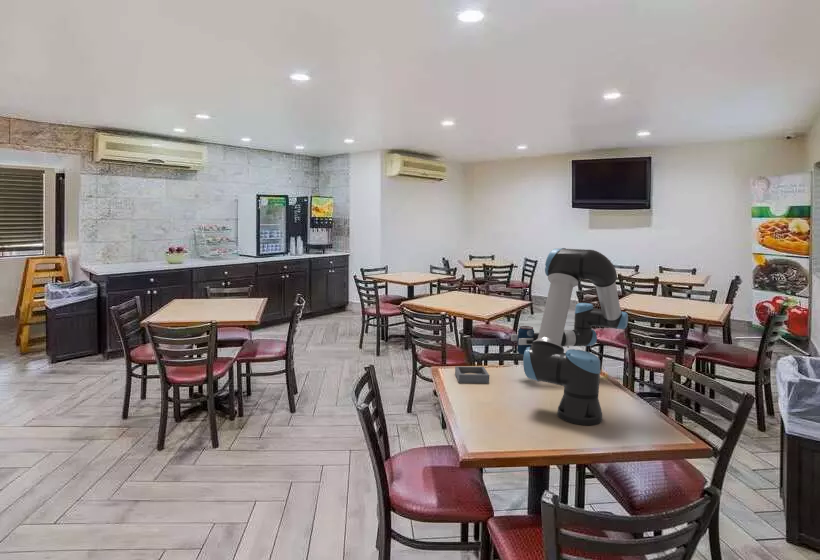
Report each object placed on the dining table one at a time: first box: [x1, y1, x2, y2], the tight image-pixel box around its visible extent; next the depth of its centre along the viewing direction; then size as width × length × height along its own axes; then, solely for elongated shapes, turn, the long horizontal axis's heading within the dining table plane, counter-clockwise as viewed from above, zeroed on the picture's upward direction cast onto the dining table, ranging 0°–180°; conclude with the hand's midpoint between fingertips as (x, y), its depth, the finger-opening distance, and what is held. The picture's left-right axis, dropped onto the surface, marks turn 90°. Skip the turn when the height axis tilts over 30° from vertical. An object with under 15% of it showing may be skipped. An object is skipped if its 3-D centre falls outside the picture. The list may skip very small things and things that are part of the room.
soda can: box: [516, 325, 535, 356], centre depth 220 cm, size 7×7×12 cm
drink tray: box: [454, 365, 490, 384], centre depth 220 cm, size 13×13×4 cm
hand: (515, 339), depth 219 cm, fingers closed on soda can, 7 cm apart
